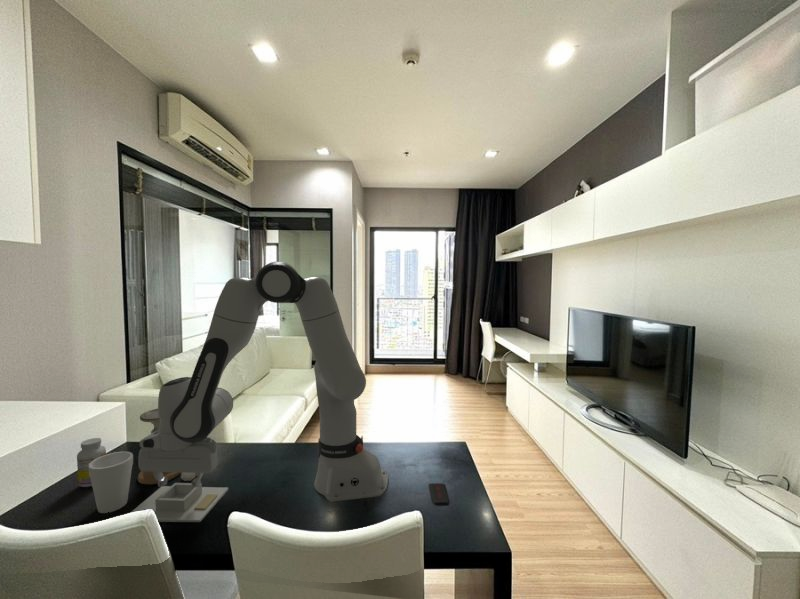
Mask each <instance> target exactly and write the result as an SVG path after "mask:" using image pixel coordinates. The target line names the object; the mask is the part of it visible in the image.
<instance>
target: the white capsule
mask: <svg viewBox="0 0 800 599" xmlns="http://www.w3.org/2000/svg"><path fill="white" fill-rule="evenodd" d="M195 478H196V476H195V473H186V472H182V473H181V474H180V479H181V480H182V481H184V482H192V481H193V480H194V479H195Z"/></svg>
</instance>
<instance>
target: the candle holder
mask: <svg viewBox="0 0 800 599" xmlns="http://www.w3.org/2000/svg"><path fill="white" fill-rule="evenodd" d="M139 419H140V421H141V422H143V423H151V424H152V425H153V429H152V430H151V431H150V434H152V433H154V432H155V431H158V430H159V425H160V418H159V416H158V408H154V409H149V410H147V411H145V412H143V413H141V414H140V416H139ZM138 473H139V474H138V475H137V481H138V483H140V484H141V485H158V481H157V480H156V478H155V477H154V475H153V472H142V471H141V470H140V472H138ZM162 473H163V475H164V477H167V482H168V481H171V480H172V479H174V478H177V477H178V476H179V475H181V473H182V472H162Z"/></svg>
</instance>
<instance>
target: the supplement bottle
mask: <svg viewBox="0 0 800 599" xmlns="http://www.w3.org/2000/svg"><path fill="white" fill-rule="evenodd" d="M106 448H107V447H105V445H102V438H100V437H93V438H89V439H86V440H83V441H82V442H81V443H80V449H81V450H80V451H79V452H78V453H77V455H76V464H77V465H76V467H77V481H78V482H77V484H78V486H79V487H81V488H89V487H92V483H91V478H90V476H89V463H91V462H92V461H93V460H95V459H97V458H99V457H101V456H104V455H107V451H106V450H107V449H106Z"/></svg>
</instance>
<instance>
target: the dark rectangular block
mask: <svg viewBox="0 0 800 599" xmlns="http://www.w3.org/2000/svg"><path fill="white" fill-rule="evenodd" d="M428 488H429V495H430V499H431V503H432V504H433V505H436V506H437V505H441V506H443V505H449V504H450V498H449V493H448V490H447V486H446V484H445V483H441V482H440V483H436V482H434V483H428Z"/></svg>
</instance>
